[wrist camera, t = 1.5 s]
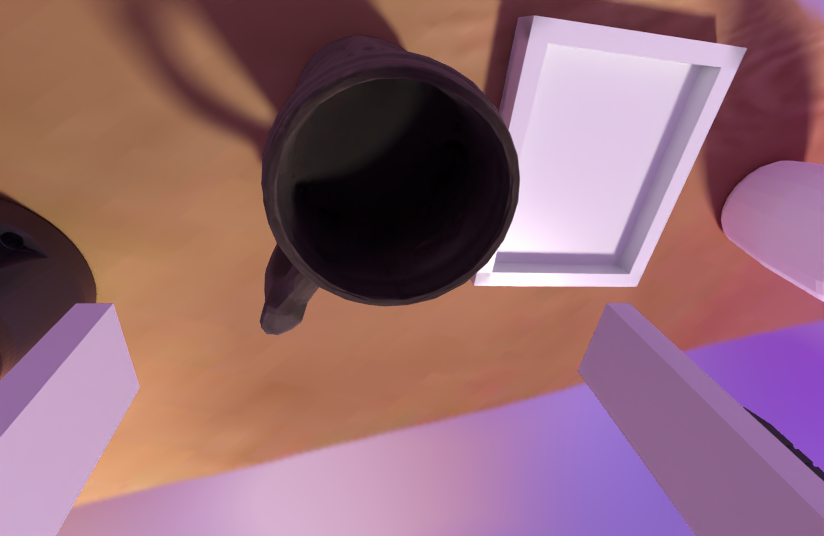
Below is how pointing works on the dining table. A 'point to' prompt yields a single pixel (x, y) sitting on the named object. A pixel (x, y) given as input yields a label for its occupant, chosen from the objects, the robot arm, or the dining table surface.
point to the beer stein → (382, 181)
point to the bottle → (781, 221)
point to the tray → (600, 146)
